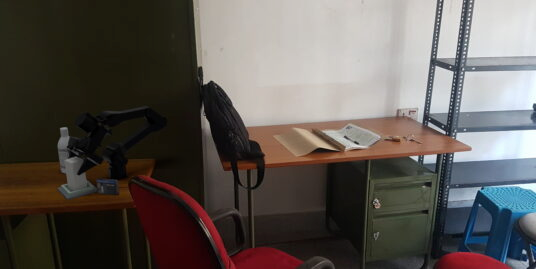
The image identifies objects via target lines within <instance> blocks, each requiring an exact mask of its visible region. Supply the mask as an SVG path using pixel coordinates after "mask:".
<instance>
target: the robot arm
mask: <svg viewBox="0 0 536 269" xmlns="http://www.w3.org/2000/svg"><path fill="white" fill-rule="evenodd" d="M139 118H145V120H146V121H145V123H144V125H142V126H141V127H139V128H138V129H136V131H134V132H132V133H131V134H130V135H128V136H127V137H126V138H124V139H122V140H121V141H120V142H115V141H112V142H110V143H109V144H108V145H105V146H104V148H103V150H102V153H101V156H100V155H98V154H97V153H96V151H97V150H98V148H102V142H103V141H104V139H105V138H106V136H107V135H109V136H113V132H112V128H115V127H116V126H119V125H121V124H122V123H123V122H126V121H130V120H135V119H139ZM73 124H74V126H75V127H76V128H78V129H80V130H81V131H83V132H85V133H86V134H88V135H87V136H86V135H85V136H83V137H82V136H81V137H80V136H79V137H76V136H75V137H74V136H71V135H70V136H69V137H70V138H69V141H68V146H67V147H66V148H68V149H69V150H68V149H67V151H68V153H69V157H68V159H70V158H73V157H79V158H82V159H83V163H82V165H81V167H80V169H79V171H78V173H77V175H81V174H83V173H84V172H85V173H86V172H88V171H90V170H91V169H93V168H95V167H96V166H97V167H98V165H99V166H101V165H102V164H103V162H104V161H105V162H106V163H107V164H108V167H107V172H108V174H107V175H108V178H110V179H112V180H118V181H119V180H122V179H126V178H129V174H127V165H128V163H129V159H128V158H126V154H127V153H128V152H129V150H130V149H132V148H133V147H135V146H136V145H137V144H139V143H140V142H142V141H143V140H144V139H146V138H147V137H148V136H150V135H151V134H152V133H156V132H160V131H162V130H163V129H165V128H167V126H168V119H167V117H166V116H163V115H161V114H159V113H158V112H157V111H155V110H154V109H153V108H152V107H149V106H146V105H143V106H140V107H135V108H130V109H126V110H119V111H116V110H115V111H114V110H103V111H101V112H100V114H98V115H95V116H93V115H92V114H90V113H89V111H84V112H83V113H80V114H79V115H78V116H76V118H75V119H74V123H73ZM81 156H83V157H81ZM65 169H66V168H65Z"/></svg>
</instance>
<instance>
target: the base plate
mask: <svg viewBox="0 0 536 269" xmlns="http://www.w3.org/2000/svg"><path fill="white" fill-rule="evenodd" d="M86 182H87V188H84V189H80V190H77V191H71V190H69V189H68V183H65V184H61V185H60V187H57V191H58V192H59V193H60V194H61V195H62V196H63V197H64V198H65V199H66V200H67V201H69V200H72V199H76V198H80V197H84V196H87V195H90V194H94V193H98V190H97V186H95V185H94V184H93V183H91V181H90V180H88V179H86Z"/></svg>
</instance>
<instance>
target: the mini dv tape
mask: <svg viewBox="0 0 536 269" xmlns="http://www.w3.org/2000/svg"><path fill="white" fill-rule="evenodd" d="M96 188H97V190H98V192H97V194H98V195H99V194H100V195H109V196H118V195H119V194H120V191H119V190H120V188H119V180H113V179H111V178H110V179H109V178H97V179H96Z"/></svg>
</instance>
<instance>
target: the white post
mask: <svg viewBox="0 0 536 269" xmlns="http://www.w3.org/2000/svg"><path fill="white" fill-rule="evenodd" d="M64 161H65V168H66V173H65V174H66V181H67V184H68V189H69V190H71V191H77V190H80V189H84V188H87V182H86V180H87V177H86V172H84V173H83V174H81V175H77V173H78V171H79V169H80V167H81V165H82V163H83V157H81V158H79V157H73V158H70V159H67V160H64Z"/></svg>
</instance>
